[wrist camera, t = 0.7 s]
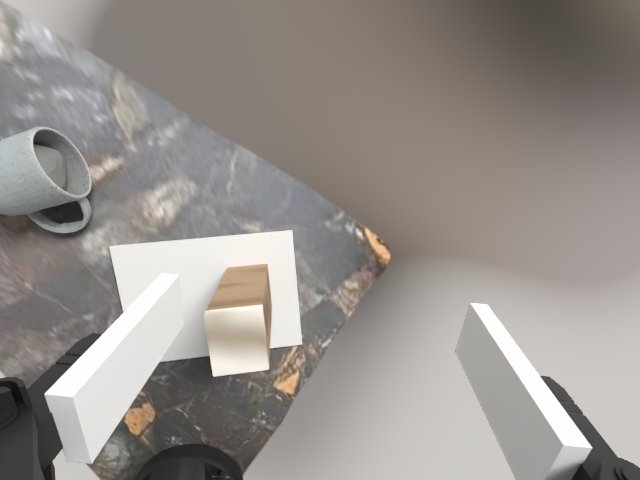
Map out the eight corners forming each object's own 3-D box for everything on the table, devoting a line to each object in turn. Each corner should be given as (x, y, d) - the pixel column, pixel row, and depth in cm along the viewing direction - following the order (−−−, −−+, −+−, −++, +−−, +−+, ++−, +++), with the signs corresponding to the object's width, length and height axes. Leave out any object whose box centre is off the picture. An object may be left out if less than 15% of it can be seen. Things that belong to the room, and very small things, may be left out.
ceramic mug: (-1, 153, 37) (-72, 151, 29) (70, 129, 37) (19, 121, 30) (49, 240, 40) (-4, 258, 32) (115, 217, 40) (78, 230, 33)
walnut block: (272, 306, 44) (268, 369, 31) (233, 311, 44) (213, 376, 30) (267, 263, 43) (262, 309, 29) (227, 267, 42) (203, 315, 29)
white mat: (301, 343, 46) (302, 344, 46) (135, 363, 44) (134, 365, 44) (292, 230, 43) (292, 230, 42) (110, 246, 40) (109, 246, 40)
